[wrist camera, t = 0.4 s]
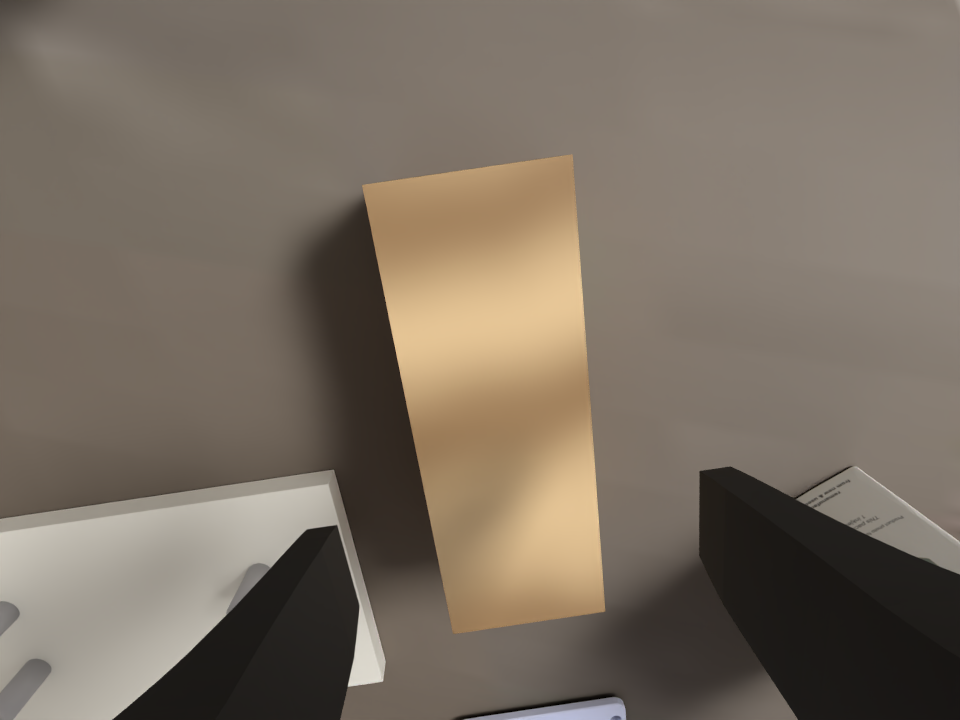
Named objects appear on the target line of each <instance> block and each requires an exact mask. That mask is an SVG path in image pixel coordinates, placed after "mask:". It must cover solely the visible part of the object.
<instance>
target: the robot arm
mask: <svg viewBox="0 0 960 720" xmlns="http://www.w3.org/2000/svg"><path fill="white" fill-rule="evenodd" d="M699 556H700V558H701V560H702V562H703V564H704V566H705V569H706V571H707V573H708V575H709V577H710V579H711V581H712V583H713V585H714V587H715V589H716V591H717V593H718V595H719V597H720V599H721V601H722V603H723V605H724V606H725V608H726V609H727V611H728V613H729V614H730V616H731V617H732V619H733V620H734V622H735V624H736V625H737V627H738V628H739V630H740V631H741V633H742V634H743V636H744V638H745V639H746V641H747V642H748V644H749V645H750V647H751V648H752V650H753V651H754V653H755V654H756V656H757V657H758V659H759V661H760V662H761V664H762V665H763V667H764V668H765V670H766V671H767V673H768V674H769V676H770V677H771V679H772V680H773V682H774V683H775V685H776V687H777V688H778V690H779V691H780V693H781V694H782V696H783V697H784V699H785V700H786V702H787V703H788V705H789V706H790V708H791V709H792V711H793V712H794V714H795V716H796V717H797V719H798V720H960V574H958V573H955V572H952V571H950V570H947V569H945V568H942V567H940V566H937V565H935V564H932V563H930V562H927V561H925V560H923V559H920V558H918V557H915V556H913V555H911V554H908V553H906V552H904V551H902V550H899V549H897V548H895V547H893V546H891V545H888V544H886V543H884V542H882V541H880V540H877V539H875V538H873V537H871V536H868V535H866V534H864V533H862V532H860V531H858V530H856V529H854V528H852V527H850V526H847V525H845V524H843V523H841V522H839V521H837V520H835V519H833V518H831V517H829V516H827V515H825V514H823V513H821V512H819V511H817V510H815V509H813V508H811V507H809V506H808V505H806V504H804V503H802V502H800V501H798V500H796V499H794V498H792V497H790V496H788V495H786V494H784V493H782V492H781V491H779V490H777V489H775V488H773V487H771V486H769V485H767V484H765V483H763V482H761V481H759V480H757V479H755V478H753V477H751V476H749V475H747V474H745V473H743V472H741V471H739V470H737V469H735V468H732V467H725V468H718V469H711V470H704V471H700V515H699ZM359 608H360V605H359V602H358V598H357V594H356V591H355V587H354V584H353V580H352V576H351V573H350V569H349V566H348V562H347V558H346V555H345V551H344V548H343V544H342V540H341V537H340V533H339V529H338V526H337V525H333V526H326V527H319V528H312V529H307V530H306V531H305V532H304V533H303V534H302V535H301V536H300V537H299V538H298V539H297V540H296V541H295V542H294V543H293V544H292V545H291V546H290V547H289V548H288V549H287V551H286V552H285V553H284V554H283V555H282V556H281V557H280V558H279V559H278V560H277V562H276V563H275V564H274V565H273V566H272V567H271V568H270V569H269V570H268V571H267V573H266V574H265V575H264V576H263V577H262V578H261V579H260V580H259V581H258V582H257V583H256V584H255V586H254V587H253V588H252V589H251V590H250V591H249V592H248V593H247V594H246V595H245V596H244V597H243V598H242V599H241V601H240V602H239V603H238V604H237V605H236V606H235V607H234V608H233V609H232V610H231V611H230V612H229V613H228V614H227V615H226V616H225V617H224V618H223V619H222V620H221V621H220V622H219V623H218V624H217V625H216V626H215V627H214V628H213V629H212V630H211V631H210V632H209V633H208V634H207V635H206V636H205V637H204V638H203V639H202V640H201V641H200V642H199V643H198V644H197V645H196V646H195V647H194V648H193V649H192V650H191V651H190V652H189V653H188V654H187V655H186V656H184V657H183V658H182V659H181V660H180V661H179V662H178V663H177V664H176V665H175V666H174V667H173V668H172V669H170V670H169V671H168V672H167V673H166V674H165V675H164V676H163V677H162V678H160V679H159V680H158V681H157V682H156V683H155V684H154V685H152V686H151V687H150V688H149V689H148V690H147V691H145V692H144V693H143V694H142V695H141V696H140V697H138V698H137V699H136V700H135V701H134V702H133V703H132V704H130V705H129V706H128V707H127V708H126V709H124V710H123V711H122V712H121V713H120V714H118V715H117V716H116V717H115V718H114V719H112V720H340V718H341V713H342V709H343V705H344V700H345V696H346V692H347V687H348V683H349V679H350V674H351V670H352V665H353V660H354V654H355V646H356V637H357V628H358V618H359ZM463 720H626V709H625V706H624V703H623V701H622V700H621V699H620V698H617V697H610V698H603V699H597V700H590V701H583V702H576V703H570V704H563V705H556V706H549V707H543V708H536V709H529V710H522V711H515V712H509V713H502V714H495V715H488V716H482V717H475V718H468V719H463Z"/></svg>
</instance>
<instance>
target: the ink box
mask: <svg viewBox="0 0 960 720" xmlns="http://www.w3.org/2000/svg"><path fill="white" fill-rule="evenodd" d="M796 500H798V501H800V502H802V503H804V504H806V505H808V506H809V507H811V508H813V509H815V510H817V511H819V512H821V513H823V514H825V515H827V516H829V517H831V518H833V519H835V520H837V521H839V522H841V523H843V524H845V525H847V526H850V527H852V528H854V529H856V530H858V531H860V532H862V533H864V534H866V535H868V536H871V537H873V538H875V539H877V540H880V541H882V542H884V543H886V544H888V545H891V546H893V547H895V548H897V549H899V550H902V551H904V552H906V553H908V554H911V555H913V556H915V557H918V558H920V559H923V560H925V561H927V562H930V563H932V564H935V565H937V566H940V567H942V568H945V569H947V570H950V571H952V572H955V573H958V574H960V542H959V541H958V540H956V539H955V538H954V537H952V536H951V535H950V534H948V533H947V532H945V531H944V530H943V529H941V528H940V527H939V526H937V525H936V524H935V523H933V522H932V521H930V520H929V519H928V518H926V517H925V516H924V515H922V514H921V513H920V512H918V511H917V510H916V509H914V508H913V507H911V506H910V505H909V504H907V503H906V502H905V501H903V500H902V499H900V498H899V497H898V496H896V495H895V494H893V493H892V492H891V491H889V490H888V489H886V488H885V487H884V486H882V485H881V484H880V483H878V482H877V481H875V480H874V479H873V478H871V477H870V476H869V475H867V474H866V473H865V472H863V471H862V470H861V469H859V468H858V467H851V468H849V469H847V470H845V471H844V472H842V473H840V474H838V475H837V476H835V477H833V478H831V479H829V480H828V481H826V482H824V483H822V484H820V485H819V486H817V487H815V488H814V489H812V490H810V491H809V492H807V493H805V494H804V495H802V496H800V497H799V498H797V499H796Z"/></svg>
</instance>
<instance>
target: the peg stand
mask: <svg viewBox="0 0 960 720" xmlns="http://www.w3.org/2000/svg"><path fill="white" fill-rule="evenodd" d="M333 525H337V526H338V529H339V533H340V537H341V540H342V544H343V548H344V551H345V555H346V558H347V562H348V566H349V569H350V573H351V576H352V580H353V584H354V587H355V591H356V594H357V598H358V602H359V605H360V608H359V618H358V628H357V637H356V646H355V654H354V660H353V665H352V670H351V674H350V679H349V683H348V687H349V686H356V685H363V684H370V683H376V682H383V677H384V670H385V663H386V661H385V657H384V653H383V649H382V646H381V642H380V638H379V635H378V631H377V627H376V624H375V620H374V616H373V612H372V609H371V605H370V601H369V598H368V594H367V590H366V586H365V583H364V579H363V575H362V572H361V568H360V564H359V560H358V557H357V553H356V549H355V546H354V542H353V538H352V535H351V531H350V527H349V523H348V520H347V516H346V512H345V509H344V505H343V501H342V497H341V494H340V490H339V486H338V483H337V479H336V475H335V471H334V470H327V471H320V472H314V473H307V474H300V475H293V476H287V477H280V478H273V479H266V480H260V481H253V482H246V483H239V484H233V485H226V486H219V487H212V488H206V489H199V490H192V491H185V492H179V493H172V494H165V495H158V496H152V497H145V498H138V499H131V500H125V501H118V502H111V503H104V504H97V505H91V506H84V507H77V508H70V509H64V510H57V511H50V512H43V513H37V514H30V515H23V516H16V517H10V518H3V519H0V720H112V719H114V718H115V717H116V716H117V715H118V714H120V713H121V712H122V711H123V710H124V709H126V708H127V707H128V706H129V705H130V704H132V703H133V702H134V701H135V700H136V699H137V698H138V697H140V696H141V695H142V694H143V693H144V692H145V691H147V690H148V689H149V688H150V687H151V686H152V685H154V684H155V683H156V682H157V681H158V680H159V679H160V678H162V677H163V676H164V675H165V674H166V673H167V672H168V671H169V670H170V669H172V668H173V667H174V666H175V665H176V664H177V663H178V662H179V661H180V660H181V659H182V658H183V657H184V656H186V655H187V654H188V653H189V652H190V651H191V650H192V649H193V648H194V647H195V646H196V645H197V644H198V643H199V642H200V641H201V640H202V639H203V638H204V637H205V636H206V635H207V634H208V633H209V632H210V631H211V630H212V629H213V628H214V627H215V626H216V625H217V624H218V623H219V622H220V621H221V620H222V619H223V618H224V617H225V616H226V615H227V614H228V613H229V612H230V611H231V610H232V609H233V608H234V607H235V606H236V605H237V604H238V603H239V602H240V601H241V599H242V598H243V597H244V596H245V595H246V594H247V593H248V592H249V591H250V590H251V589H252V588H253V587H254V586H255V584H256V583H257V582H258V581H259V580H260V579H261V578H262V577H263V576H264V575H265V574H266V573H267V571H268V570H269V569H270V568H271V567H272V566H273V565H274V564H275V563H276V562H277V560H278V559H279V558H280V557H281V556H282V555H283V554H284V553H285V552H286V551H287V549H288V548H289V547H290V546H291V545H292V544H293V543H294V542H295V541H296V540H297V539H298V538H299V537H300V536H301V535H302V534H303V533H304V532H305V531H306V530H307V529H312V528H319V527H326V526H333Z"/></svg>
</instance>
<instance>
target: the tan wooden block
mask: <svg viewBox="0 0 960 720" xmlns="http://www.w3.org/2000/svg"><path fill="white" fill-rule="evenodd" d="M362 187H363V192H364V197H365V202H366V207H367V212H368V217H369V221H370V226H371V231H372V236H373V241H374V246H375V251H376V256H377V261H378V266H379V271H380V276H381V281H382V286H383V290H384V295H385V300H386V305H387V310H388V315H389V320H390V325H391V330H392V335H393V340H394V345H395V350H396V355H397V359H398V364H399V369H400V374H401V379H402V384H403V389H404V394H405V399H406V404H407V409H408V414H409V419H410V424H411V428H412V433H413V438H414V443H415V448H416V453H417V458H418V463H419V468H420V473H421V478H422V483H423V488H424V493H425V497H426V502H427V507H428V512H429V517H430V522H431V527H432V532H433V537H434V542H435V547H436V552H437V557H438V562H439V566H440V571H441V576H442V581H443V586H444V591H445V596H446V601H447V606H448V611H449V616H450V621H451V626H452V631H453V634H456V633H463V632H470V631H477V630H484V629H490V628H497V627H504V626H511V625H518V624H524V623H531V622H538V621H545V620H552V619H558V618H565V617H572V616H579V615H585V614H592V613H599V612H605V602H604V588H603V574H602V560H601V546H600V532H599V518H598V504H597V490H596V477H595V463H594V449H593V435H592V421H591V407H590V393H589V379H588V365H587V351H586V337H585V323H584V309H583V295H582V281H581V267H580V253H579V239H578V225H577V212H576V198H575V184H574V170H573V156H572V155H565V156H558V157H550V158H543V159H536V160H529V161H522V162H516V163H509V164H502V165H495V166H488V167H481V168H474V169H468V170H461V171H454V172H447V173H440V174H433V175H427V176H420V177H413V178H406V179H399V180H392V181H385V182H379V183H373V184H366V185H362Z"/></svg>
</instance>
